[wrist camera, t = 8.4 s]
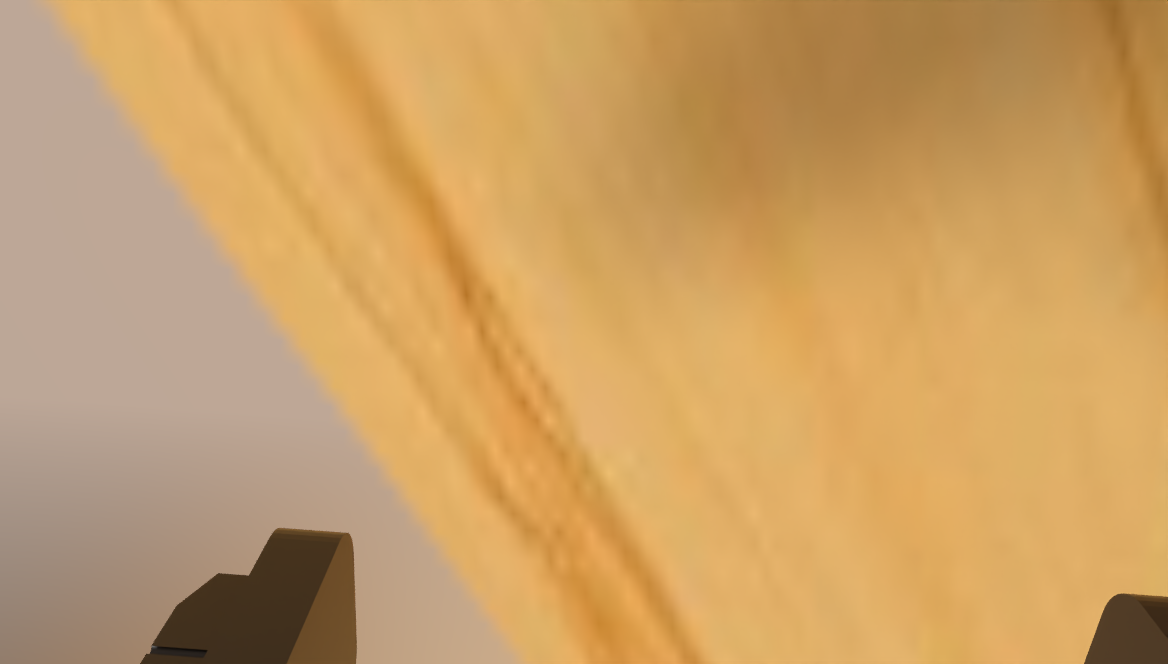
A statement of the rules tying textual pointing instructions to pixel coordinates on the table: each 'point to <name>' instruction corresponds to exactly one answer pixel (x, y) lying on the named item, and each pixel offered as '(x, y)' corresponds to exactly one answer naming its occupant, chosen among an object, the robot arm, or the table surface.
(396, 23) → the table surface
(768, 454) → the table surface
